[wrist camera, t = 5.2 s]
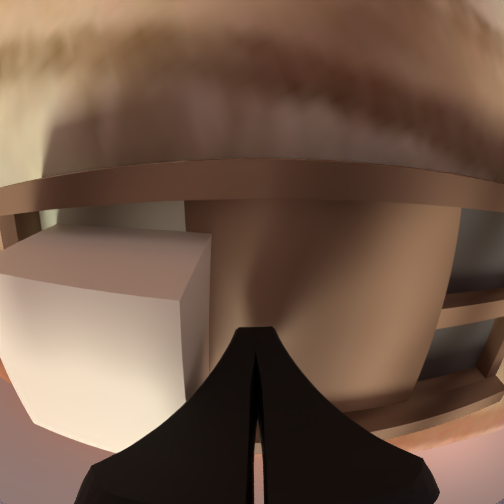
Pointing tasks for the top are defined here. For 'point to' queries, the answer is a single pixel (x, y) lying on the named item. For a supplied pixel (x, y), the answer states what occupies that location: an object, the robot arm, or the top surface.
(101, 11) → the top surface
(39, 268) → the ivory block
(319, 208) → the box
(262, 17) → the top surface
